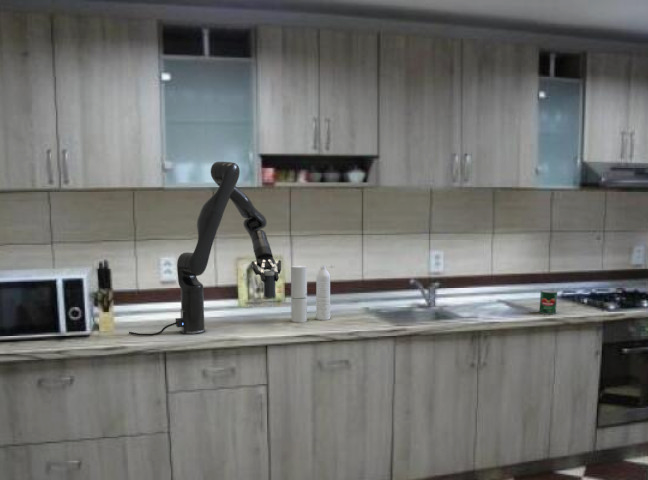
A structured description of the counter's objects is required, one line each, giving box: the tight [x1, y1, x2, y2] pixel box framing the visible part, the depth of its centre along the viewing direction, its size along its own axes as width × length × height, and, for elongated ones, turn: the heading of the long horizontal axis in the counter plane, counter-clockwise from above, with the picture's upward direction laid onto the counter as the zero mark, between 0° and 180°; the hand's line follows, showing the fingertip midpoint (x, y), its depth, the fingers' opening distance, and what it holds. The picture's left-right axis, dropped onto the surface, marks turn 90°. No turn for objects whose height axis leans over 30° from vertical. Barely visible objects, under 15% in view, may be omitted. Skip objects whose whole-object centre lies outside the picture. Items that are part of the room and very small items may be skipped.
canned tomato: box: [538, 289, 558, 315], centre depth 306 cm, size 8×8×11 cm
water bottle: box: [315, 264, 335, 321], centre depth 287 cm, size 9×6×25 cm
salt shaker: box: [263, 270, 276, 298], centre depth 272 cm, size 5×5×11 cm
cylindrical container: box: [290, 265, 308, 323], centre depth 282 cm, size 7×7×25 cm
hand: (270, 280), depth 270 cm, fingers closed on salt shaker, 5 cm apart
